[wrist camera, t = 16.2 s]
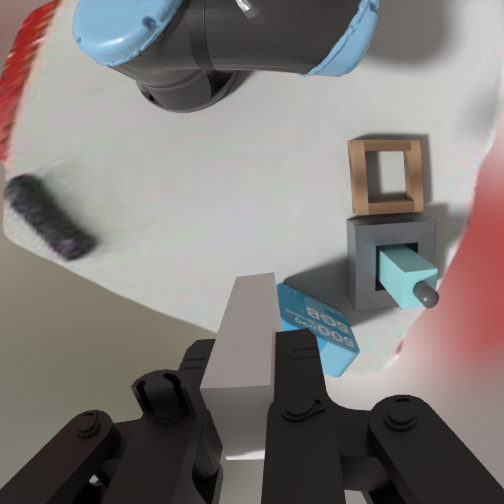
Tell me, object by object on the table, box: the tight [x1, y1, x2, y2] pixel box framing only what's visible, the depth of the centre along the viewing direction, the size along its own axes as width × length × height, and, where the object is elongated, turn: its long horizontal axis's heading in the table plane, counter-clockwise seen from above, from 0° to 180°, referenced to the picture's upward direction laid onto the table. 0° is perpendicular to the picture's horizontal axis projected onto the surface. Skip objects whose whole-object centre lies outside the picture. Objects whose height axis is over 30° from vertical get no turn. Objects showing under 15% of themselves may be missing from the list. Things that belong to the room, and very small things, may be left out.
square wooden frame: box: [348, 140, 424, 216], centre depth 39 cm, size 10×10×3 cm
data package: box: [276, 283, 359, 377], centre depth 41 cm, size 12×4×12 cm, turn 63°
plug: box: [376, 244, 439, 309], centre depth 36 cm, size 4×4×15 cm
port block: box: [347, 215, 436, 312], centre depth 41 cm, size 12×12×5 cm
